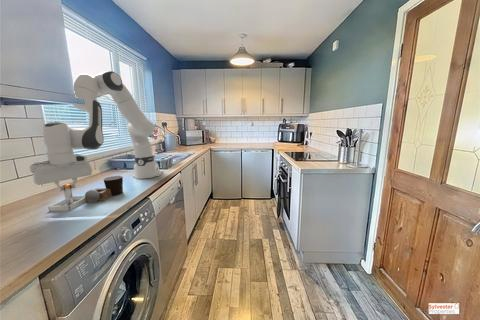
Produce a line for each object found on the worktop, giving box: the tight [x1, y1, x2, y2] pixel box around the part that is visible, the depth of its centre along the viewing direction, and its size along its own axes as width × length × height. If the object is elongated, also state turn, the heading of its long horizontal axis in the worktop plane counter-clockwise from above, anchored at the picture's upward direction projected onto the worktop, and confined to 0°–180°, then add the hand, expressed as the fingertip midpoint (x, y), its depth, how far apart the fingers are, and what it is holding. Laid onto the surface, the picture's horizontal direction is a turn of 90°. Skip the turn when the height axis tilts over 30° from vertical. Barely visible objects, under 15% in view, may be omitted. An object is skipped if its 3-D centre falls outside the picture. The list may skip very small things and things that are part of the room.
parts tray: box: [47, 195, 87, 212], centre depth 97 cm, size 13×9×3 cm
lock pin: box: [62, 183, 75, 206], centre depth 96 cm, size 3×3×10 cm
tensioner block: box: [84, 187, 113, 204], centre depth 103 cm, size 10×8×7 cm
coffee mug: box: [102, 175, 124, 197], centre depth 111 cm, size 12×9×10 cm
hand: (67, 189), depth 95 cm, fingers closed on lock pin, 3 cm apart
